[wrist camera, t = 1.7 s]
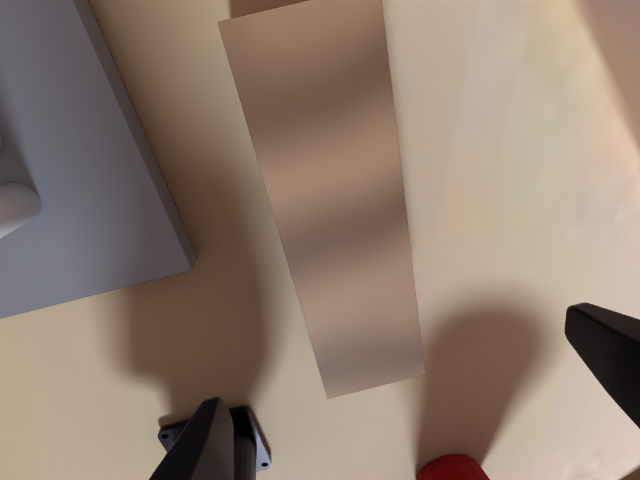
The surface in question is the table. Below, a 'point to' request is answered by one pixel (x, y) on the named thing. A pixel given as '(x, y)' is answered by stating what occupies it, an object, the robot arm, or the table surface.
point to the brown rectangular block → (333, 181)
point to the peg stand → (74, 166)
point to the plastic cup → (452, 469)
